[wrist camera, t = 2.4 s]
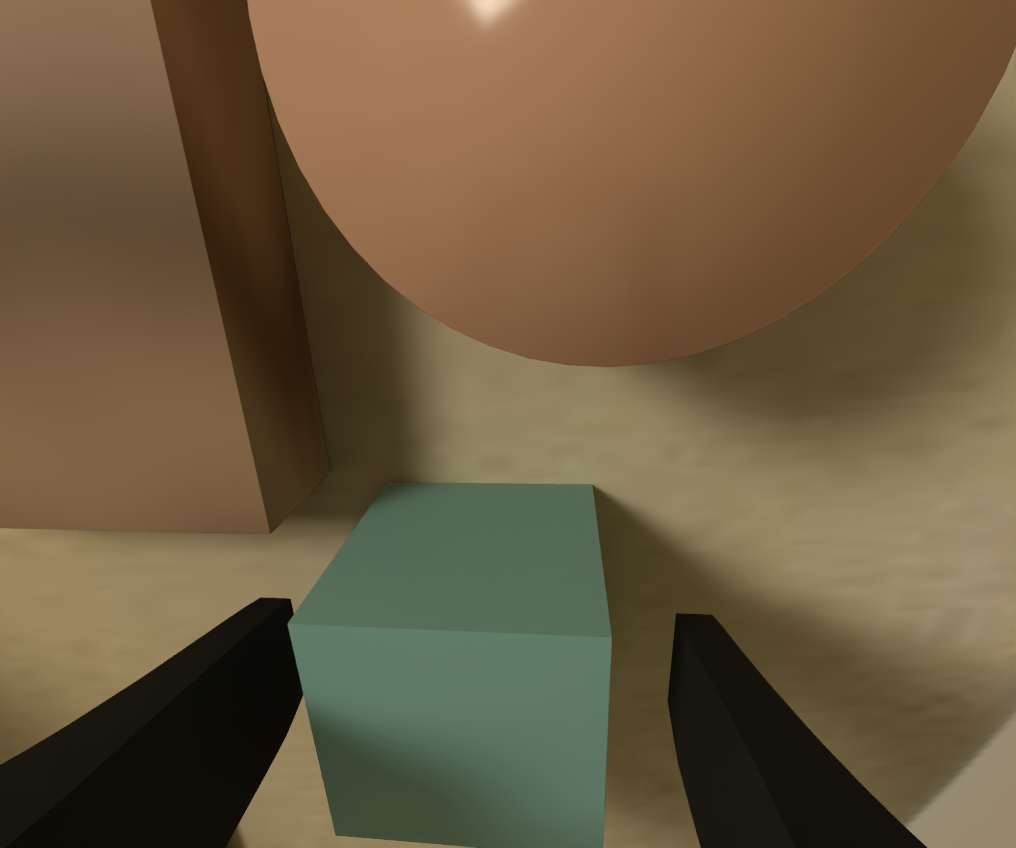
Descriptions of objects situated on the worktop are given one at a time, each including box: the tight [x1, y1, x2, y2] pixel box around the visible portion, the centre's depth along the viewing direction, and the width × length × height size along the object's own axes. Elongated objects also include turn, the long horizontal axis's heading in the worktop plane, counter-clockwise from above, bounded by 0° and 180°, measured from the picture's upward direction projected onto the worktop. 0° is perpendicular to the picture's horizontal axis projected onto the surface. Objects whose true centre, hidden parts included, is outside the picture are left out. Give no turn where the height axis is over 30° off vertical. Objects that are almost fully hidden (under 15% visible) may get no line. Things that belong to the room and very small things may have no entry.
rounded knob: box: [247, 0, 1016, 367], centre depth 6 cm, size 6×6×5 cm
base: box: [0, 0, 330, 534], centre depth 9 cm, size 9×9×2 cm
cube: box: [288, 482, 612, 848], centre depth 10 cm, size 4×4×4 cm
